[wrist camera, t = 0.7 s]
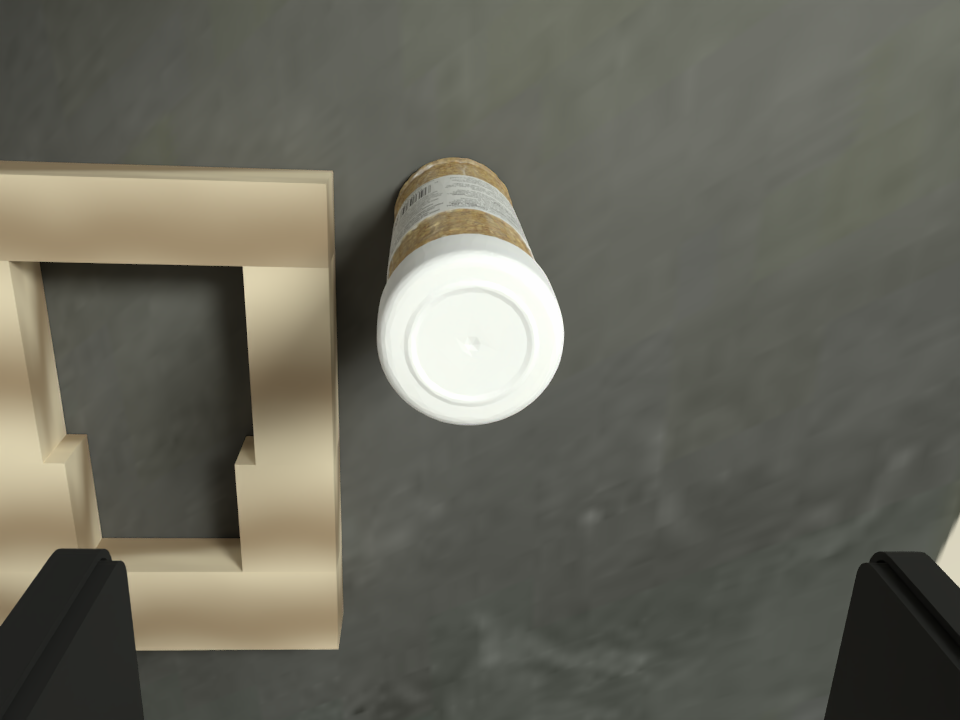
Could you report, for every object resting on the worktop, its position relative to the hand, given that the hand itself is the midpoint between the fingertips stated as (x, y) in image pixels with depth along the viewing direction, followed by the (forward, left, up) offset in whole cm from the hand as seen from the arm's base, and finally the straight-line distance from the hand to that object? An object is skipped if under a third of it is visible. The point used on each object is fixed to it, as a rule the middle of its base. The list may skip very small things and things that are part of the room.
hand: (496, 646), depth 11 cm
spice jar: (0, 0, -24) cm, 24 cm away
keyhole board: (+9, -11, -24) cm, 28 cm away
